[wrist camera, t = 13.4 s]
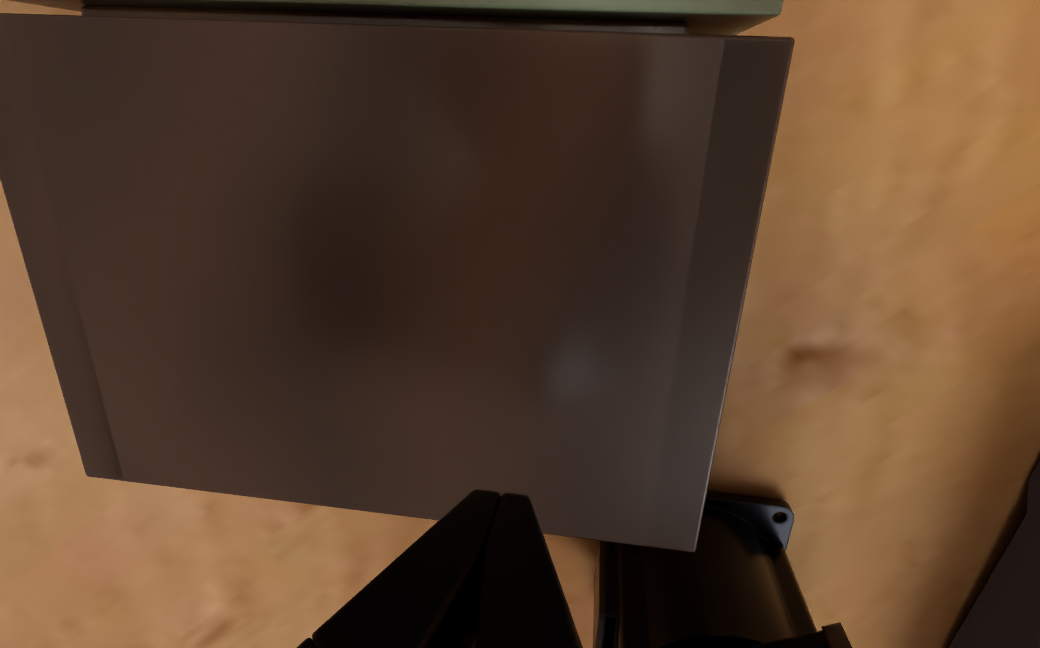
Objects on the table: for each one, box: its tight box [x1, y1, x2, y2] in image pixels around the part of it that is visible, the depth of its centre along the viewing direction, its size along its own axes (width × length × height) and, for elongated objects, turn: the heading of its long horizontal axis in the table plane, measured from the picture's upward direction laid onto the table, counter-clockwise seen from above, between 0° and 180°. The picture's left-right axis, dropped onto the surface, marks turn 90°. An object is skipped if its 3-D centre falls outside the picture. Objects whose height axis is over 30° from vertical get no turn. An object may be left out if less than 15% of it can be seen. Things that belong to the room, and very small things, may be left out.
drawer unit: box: [0, 13, 794, 552], centre depth 15 cm, size 13×9×10 cm
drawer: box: [10, 0, 783, 35], centre depth 11 cm, size 13×10×3 cm
